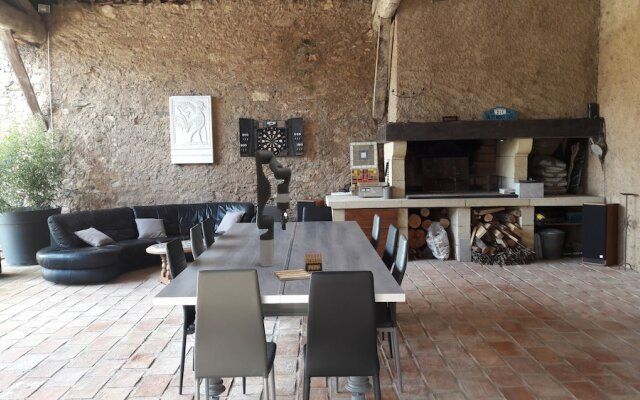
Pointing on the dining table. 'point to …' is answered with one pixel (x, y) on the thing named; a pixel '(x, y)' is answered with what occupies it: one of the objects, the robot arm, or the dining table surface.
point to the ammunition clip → (312, 265)
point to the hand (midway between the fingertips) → (283, 230)
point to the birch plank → (294, 276)
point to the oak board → (288, 272)
